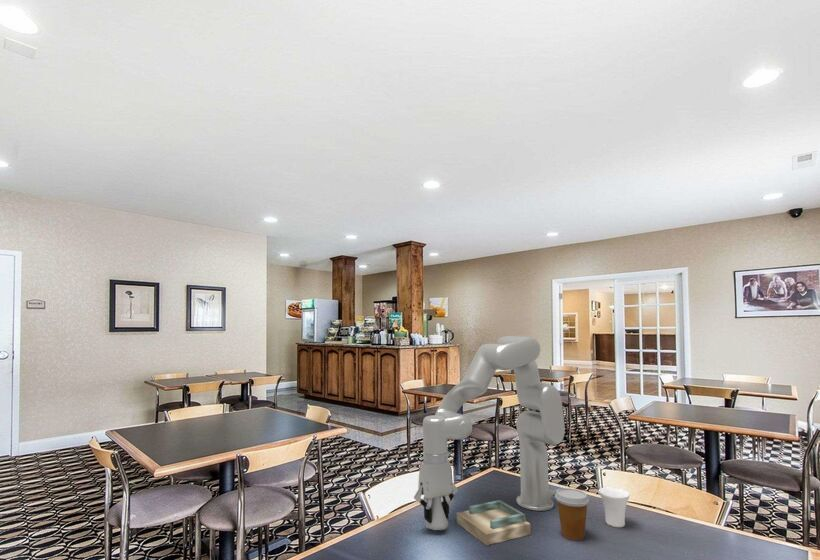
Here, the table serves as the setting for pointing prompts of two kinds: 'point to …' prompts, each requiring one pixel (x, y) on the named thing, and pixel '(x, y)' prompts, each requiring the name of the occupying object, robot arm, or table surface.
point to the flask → (437, 516)
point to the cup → (614, 505)
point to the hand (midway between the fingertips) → (436, 518)
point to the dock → (494, 522)
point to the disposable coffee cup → (572, 512)
